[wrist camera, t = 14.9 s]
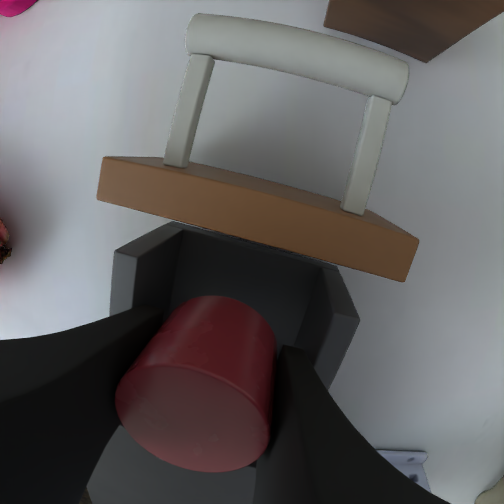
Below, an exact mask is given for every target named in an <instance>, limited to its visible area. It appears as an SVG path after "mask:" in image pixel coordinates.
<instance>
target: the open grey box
mask: <svg viewBox="0 0 504 504" xmlns="http://www.w3.org/2000/svg"><path fill="white" fill-rule="evenodd" d="M256 463H257V460H256V461H255V462H253V463H252V464H250V465H248V466H246V467H244V468H241V469H238V470H234V471H229V472H220V473H207V472H198V471H193V470H188V469H184V468H181V467H178V466H175V465H172V464H170V463H168V462H166V461H163V460H162V459H160V458H158V457H156V456H154V455H153V454H151V453H150V452H148V451H147V450H146V449H144V448H143V447H142V446H140V445H139V444H138V443H137V442H136V441H135V440H134V439H133V438H132V437H131V436H130V435H129V433H128V432H127V431H126V429H125V428H124V426H123V425H122V423H121V424H120V425H119V427H118V428H117V430H116V431H115V433H114V434H113V436H112V437H111V439H110V441H109V442H108V444H107V445H106V447H105V449H104V451H103V453H102V455H101V457H100V459H99V461H98V463H97V465H96V467H95V469H94V471H93V473H92V475H91V478H90V480H89V482H88V484H87V489H88V492H89V495H90V498H91V501H92V504H252V501H253V496H254V488H255V479H256Z"/></svg>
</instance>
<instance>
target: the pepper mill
mask: <svg viewBox="0 0 504 504" xmlns="http://www.w3.org/2000/svg"><path fill="white" fill-rule="evenodd" d="M36 1H37V0H0V14H1V15H3V16H6V17H12V16H15V15H18V14H20V13H22V12H23V11H25V10H26V9H28V8H29V7H30V6H31V5H33V4H34V3H35V2H36Z"/></svg>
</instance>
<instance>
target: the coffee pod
mask: <svg viewBox="0 0 504 504" xmlns="http://www.w3.org/2000/svg"><path fill="white" fill-rule="evenodd" d="M277 357H278V346H277V341H276V338H275V335H274V332H273V331H272V329H271V327H270V325H269V324H268V323H267V321H266V320H265V319H264V318H263V317H262V316H261V315H260V314H259V313H258V312H257V311H255V310H254V309H253V308H251V307H250V306H248V305H246V304H244V303H242V302H240V301H238V300H235V299H232V298H228V297H224V296H201V297H196V298H193V299H190V300H188V301H185V302H184V303H182V304H180V305H179V306H178V307H177V308H175V309H174V310H173V311H172V313H171V314H170V315H169V316H168V318H167V319H166V320H165V322H164V323H163V324H162V325H161V327H160V328H159V329H158V331H157V332H156V333H155V335H154V336H153V337H152V339H151V340H150V341H149V342H148V344H147V345H146V346H145V348H144V349H143V350H142V352H141V353H140V354H139V356H138V357H137V358H136V360H135V361H134V362H133V364H132V365H131V366H130V368H129V369H128V370H127V372H126V373H125V374H124V376H123V377H122V378H121V380H120V381H119V383H118V385H117V388H116V391H115V408H116V411H117V415H118V417H119V419H120V421H121V423H122V425H123V426H124V428H125V429H126V431H127V432H128V433H129V435H130V436H131V437H132V438H133V439H134V440H135V441H136V442H137V443H138V444H139V445H140V446H142V447H143V448H144V449H146V450H147V451H148V452H150V453H151V454H153V455H154V456H156V457H158V458H160V459H162V460H163V461H166V462H168V463H170V464H172V465H175V466H178V467H181V468H184V469H188V470H193V471H198V472H207V473H220V472H229V471H234V470H238V469H241V468H244V467H246V466H248V465H250V464H252V463H253V462H255V461H256V460H257V459H259V458H260V456H261V455H262V454H263V453H264V452H265V450H266V449H267V447H268V444H269V442H270V436H271V426H272V415H273V405H274V393H275V382H276V370H277Z"/></svg>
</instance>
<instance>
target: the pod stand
mask: <svg viewBox="0 0 504 504" xmlns="http://www.w3.org/2000/svg"><path fill="white" fill-rule="evenodd" d="M502 12H504V0H329V4H328V8H327V12H326V17H325V21H324V27H328V28H331V29H335V30H338V31H342V32H345V33H348V34H352V35H355V36H358V37H361V38H364V39H367V40H370V41H373V42H376V43H378V44H381V45H384V46H386V47H389V48H392V49H394V50H397V51H399V52H402V53H404V54H407V55H409V56H411V57H414V58H416V59H418V60H420V61H423V62H425V63H427V62H429V61H430V60H432V59H433V58H435V57H436V56H437V55H439V54H440V53H442V52H443V51H445V50H446V49H448V48H449V47H450V46H452V45H453V44H455V43H456V42H458V41H459V40H461V39H462V38H464V37H465V36H467V35H468V34H470V33H471V32H473V31H474V30H476V29H477V28H479V27H480V26H482V25H483V24H485V23H487V22H488V21H490V20H491V19H493V18H494V17H496V16H497V15H499V14H501V13H502Z"/></svg>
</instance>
